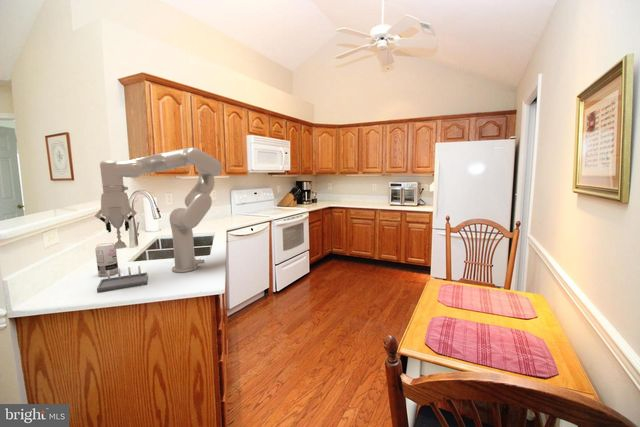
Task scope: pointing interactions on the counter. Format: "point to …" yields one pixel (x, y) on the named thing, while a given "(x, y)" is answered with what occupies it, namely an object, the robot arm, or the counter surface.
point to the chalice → (117, 225)
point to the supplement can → (106, 259)
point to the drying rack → (122, 281)
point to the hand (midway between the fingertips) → (118, 230)
